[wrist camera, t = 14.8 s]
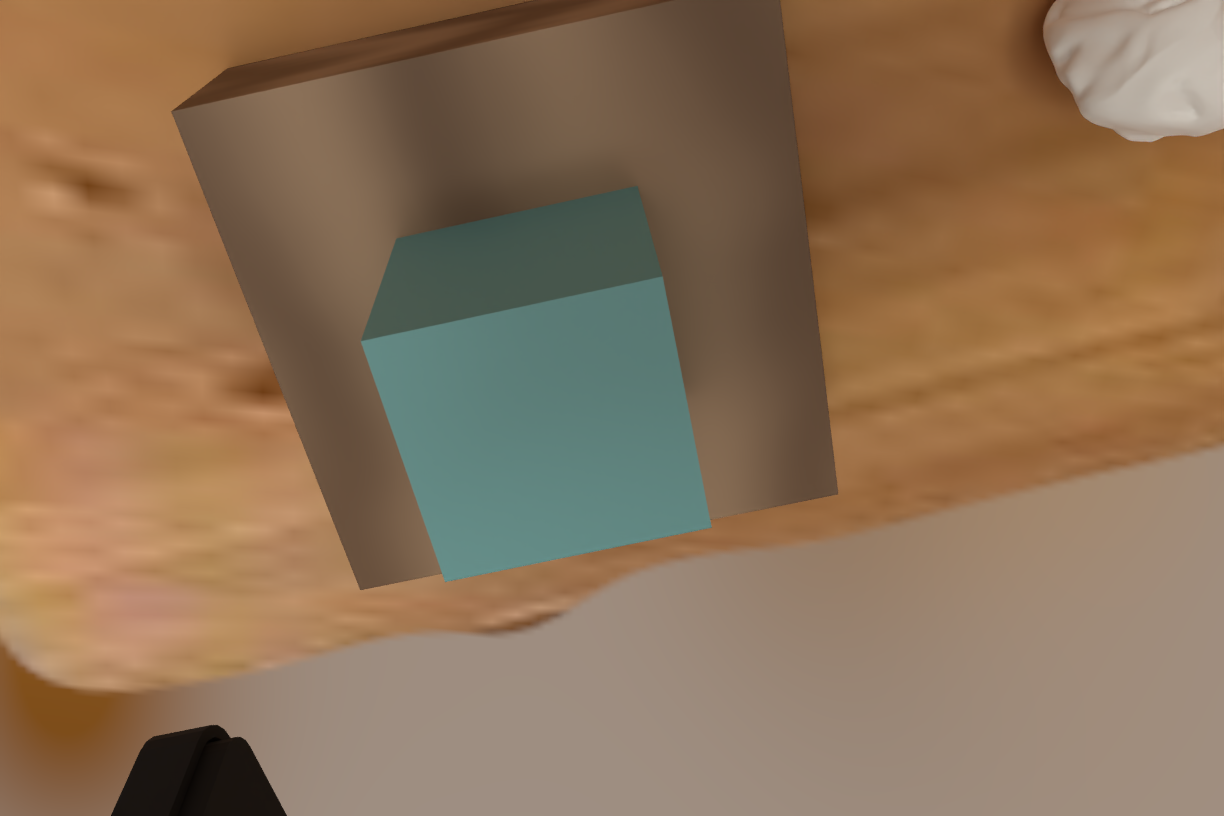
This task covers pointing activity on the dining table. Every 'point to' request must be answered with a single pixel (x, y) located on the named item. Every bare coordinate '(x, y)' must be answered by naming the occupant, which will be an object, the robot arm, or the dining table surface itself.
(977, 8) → the dining table surface
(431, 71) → the walnut block
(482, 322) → the teal cube
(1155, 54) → the bust
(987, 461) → the dining table surface
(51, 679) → the dining table surface
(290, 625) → the dining table surface
